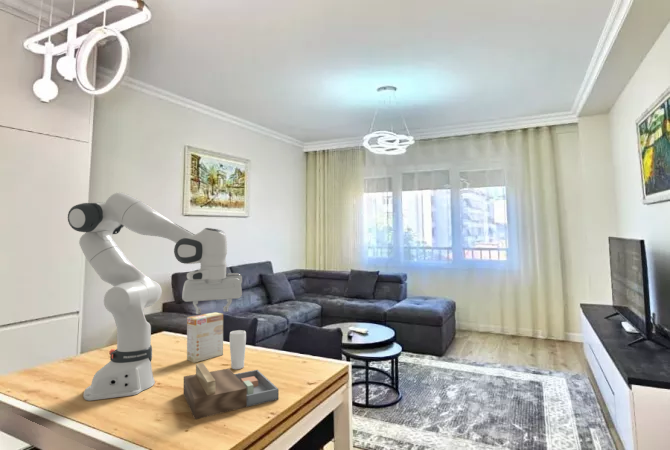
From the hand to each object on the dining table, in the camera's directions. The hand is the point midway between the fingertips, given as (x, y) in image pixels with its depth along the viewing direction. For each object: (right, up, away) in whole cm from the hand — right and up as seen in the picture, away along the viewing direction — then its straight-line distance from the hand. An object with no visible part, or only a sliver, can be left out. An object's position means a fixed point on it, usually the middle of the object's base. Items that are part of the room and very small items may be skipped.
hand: (212, 312), depth 131 cm
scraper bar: (0, -22, -8) cm, 23 cm away
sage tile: (+13, -25, -7) cm, 29 cm away
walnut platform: (+3, -28, -6) cm, 29 cm away
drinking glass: (+2, -30, +26) cm, 39 cm away
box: (+14, -28, 0) cm, 32 cm away
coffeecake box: (-17, -31, +40) cm, 53 cm away
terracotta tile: (+12, -26, +5) cm, 29 cm away
